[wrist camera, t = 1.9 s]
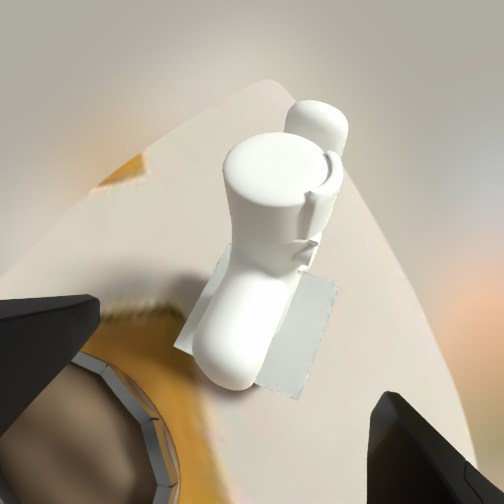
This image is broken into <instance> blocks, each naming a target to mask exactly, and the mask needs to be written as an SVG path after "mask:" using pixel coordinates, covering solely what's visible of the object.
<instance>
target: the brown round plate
mask: <svg viewBox="0 0 504 504" xmlns="http://www.w3.org/2000/svg"><path fill="white" fill-rule="evenodd" d="M79 352H81V351H79ZM81 353H84V352H81ZM84 354H86V355H88V356H90V357H93V358H95V359H97V360H99V361H102V362H104V363H106V364H108V365H110V366H112V365H111V364H109V363H107V362H105V361H103V360H101V359H99V358H97V357H95V356H92V355H90V354H87V353H84ZM112 367H114V366H112ZM122 373H123V372H122ZM123 375H124V376H125V377H126V378H127V380H128V381H129V382H130V383H131V385H132V386H133V387H134V388H135V389H136V391H137V392H138V393H139V394H140V395H141V397H142V398H143V399H144V400H145V401H146V402H147V403H148V405H149V406H150V407H151V408H152V409H153V410H154V411H155V412H156V414H157V415H158V416H159V417H160V419H159V420H162V423H163V427H164V431H165V434H166V438H167V441H168V445H169V448H170V452H171V455H172V458H173V462H174V465H175V468H176V471H177V474H178V478H179V480H178V482H179V484H178V488H177V491H176V495H175V498H174V502H173V504H178V501H179V496H180V484H181V476H180V466H179V460H178V456H177V452H176V448H175V445H174V442H173V439H172V437H171V434H170V432H169V430H168V428H167V426H166V424H165V422H164V419H163V418H162V416H161V415H160V413H159V411H158V410H157V408H156V407H155V405H154V404H153V403H152V401H151V400H150V399H149V398H148V396H147V395H146V394H145V393H144V392H143V390H142V389H141V388H140V387H139V386H138V385H137V384H136V383H135V382H134V381H132V380H131V379H130V378H129V377H128V376H127V375H125V374H124V373H123ZM0 464H1V468H2V472H3V476H4V478H5V479H6V481H7V483H8V484H9V486H10V487H11V489H12V490H13V492H14V493H15V495H16V496H17V498H18V499H19V501H20V502H21V503H22V504H153V501H154V498H155V494H156V490H157V486H158V484H157V481H156V478H155V475H154V472H153V468H152V465H151V462H150V458H149V455H148V451H147V448H146V444H145V440H144V437H143V433H142V429H141V425H140V423H139V422H138V421H137V420H136V419H135V418H134V416H133V415H132V414H131V413H130V412H129V410H128V409H127V408H126V407H125V406H124V404H123V403H122V402H121V401H120V399H119V398H118V397H117V396H116V394H115V393H114V392H113V390H112V389H111V388H110V387H109V385H108V384H107V383H106V381H105V380H104V379H103V377H102V376H101V375H100V374H98V373H95V372H93V371H91V370H89V369H87V368H85V367H82V366H80V365H78V364H76V363H74V362H72V361H70V363H69V364H68V365H67V366H66V367H65V368H64V369H63V370H62V371H61V372H60V373H59V374H58V375H57V376H56V377H55V378H54V379H53V380H52V381H51V382H50V383H49V385H48V386H47V387H46V388H45V389H44V390H43V391H42V392H41V393H40V394H39V395H38V396H37V397H36V399H35V400H34V401H33V402H32V403H31V404H30V405H29V406H28V407H27V408H26V409H25V411H24V412H23V413H22V414H21V415H20V416H19V417H18V418H17V419H16V421H15V422H14V423H13V424H12V425H11V426H10V427H9V429H8V430H7V431H6V432H5V433H4V434H3V435H2V437H1V438H0Z"/></svg>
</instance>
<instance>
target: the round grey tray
mask: <svg viewBox="0 0 504 504" xmlns="http://www.w3.org/2000/svg"><path fill="white" fill-rule="evenodd" d="M71 361H72V362H74V363H76V364H78V365H80V366H82V367H85V368H87V369H89V370H91V371H93V372H95V373H98V374H100V375H101V376H102V377H103V379H104V380H105V381H106V383H107V384H108V385H109V387H110V388H111V389H112V390H113V392H114V393H115V394H116V396H117V397H118V398H119V399H120V401H121V402H122V403H123V404H124V406H125V407H126V408H127V409H128V410H129V412H130V413H131V414H132V415H133V416H134V418H135V419H136V420H137V421H138V422H139V423H140V425H141V429H142V433H143V437H144V440H145V444H146V448H147V451H148V455H149V458H150V462H151V465H152V468H153V472H154V475H155V478H156V481H157V484H158V486H157V490H156V494H155V498H154V501H153V504H173V502H174V498H175V495H176V491H177V488H178V484H179V482H178V480H179V478H178V474H177V471H176V468H175V465H174V462H173V458H172V455H171V452H170V448H169V445H168V441H167V438H166V434H165V431H164V427H163V423H162V420H159V419H160V417H159V416H158V415H157V414H156V412H155V411H154V410H153V409H152V408H151V407H150V406H149V405H148V403H147V402H146V401H145V400H144V399H143V398H142V397H141V395H140V394H139V393H138V392H137V391H136V389H135V388H134V387H133V386H132V385H131V383H130V382H129V381H128V380H127V378H126V377H125V376H124V375H123V373H122V372H121V371H120V370H119V369H117V368H115V367H112V366H110V365H108V364H106V363H104V362H102V361H99V360H97V359H95V358H93V357H90V356H88V355H86V354H84V353H81V352H78V353H77V354H76V356H75V357H74V358H73V359H72V360H71ZM0 504H22V503H21V502H20V501H19V499H18V498H17V496H16V495H15V493H14V492H13V490H12V489H11V487H10V486H9V484H8V483H7V481H6V479H5V478H4V476H3V472H2V468H1V464H0Z"/></svg>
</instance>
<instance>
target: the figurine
mask: <svg viewBox="0 0 504 504" xmlns="http://www.w3.org/2000/svg"><path fill="white" fill-rule="evenodd" d="M347 134H348V123H347V120H346V118H345V116H344V115H343V114H342V113H341V112H340V111H339V110H338V109H336V108H334V107H333V106H331V105H328V104H326V103H323V102H318V101H312V100H305V101H300V102H297V103H295V104H294V105H293V106H292V107H291V108H290V109H289V111H288V114H287V117H286V122H285V129H284V133H281V132H270V133H262V134H258V135H254V136H252V137H249V138H247V139H245V140H243V141H241V142H240V143H238V144H237V145H236V146H234V147H233V148H232V149H231V150H230V151H229V153H228V154H227V156H226V158H225V161H224V163H223V176H224V182H225V188H226V193H227V199H228V205H229V210H230V215H231V221H232V243H229V244H228V246H227V248H226V250H225V252H224V253H223V255H222V257H221V259H220V261H219V262H218V264H217V266H216V268H215V270H214V271H213V273H212V275H211V277H210V279H209V281H208V282H207V284H206V286H205V288H204V290H203V291H202V293H201V295H200V297H199V299H198V301H197V303H196V304H195V306H194V308H193V310H192V312H191V314H190V315H189V317H188V319H187V321H186V323H185V325H184V327H183V329H182V330H181V332H180V334H179V336H178V338H177V340H176V342H175V344H174V345H173V346H174V347H176V348H178V349H180V350H182V351H184V352H186V353H188V354H190V355H193V356H194V359H195V361H196V363H197V365H198V366H199V367H200V369H201V370H202V371H203V372H204V374H205V375H206V376H207V377H208V378H209V379H210V380H211V381H212V382H214V383H215V384H217V385H219V386H221V387H223V388H226V389H230V390H236V391H238V390H244V389H247V388H249V387H250V386H251V385H252V384H253V383H255V384H258V385H260V386H263V387H265V388H268V389H270V390H273V391H275V392H278V393H281V394H283V395H286V396H289V397H291V398H294V399H297V400H298V399H299V396H300V394H301V391H302V389H303V386H304V384H305V381H306V379H307V376H308V373H309V371H310V368H311V366H312V363H313V360H314V358H315V355H316V352H317V350H318V347H319V344H320V341H321V339H322V336H323V333H324V330H325V327H326V324H327V321H328V318H329V315H330V313H331V310H332V307H333V303H334V300H335V297H336V294H337V291H338V288H339V285H338V284H335V283H333V282H330V281H327V280H325V279H322V278H320V277H317V276H315V275H312V274H309V273H307V272H306V271H308V270H309V269H310V267H311V264H312V262H313V259H314V256H315V254H316V251H317V248H318V245H319V243H320V240H321V235H322V232H321V231H322V230H323V228H324V227H325V226H326V224H327V222H328V220H329V218H330V215H331V212H332V209H333V206H334V203H335V200H336V197H337V195H338V193H339V190H340V187H341V183H342V179H343V168H342V163H341V160H340V158H341V155H342V152H343V149H344V145H345V142H346V139H347Z"/></svg>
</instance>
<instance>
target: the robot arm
mask: <svg viewBox="0 0 504 504" xmlns="http://www.w3.org/2000/svg"><path fill="white" fill-rule="evenodd" d="M99 321H100V301H99V299H98V298H96V297H94V296H92V295H89V294H83V295H70V296H56V297H41V298H26V299H9V300H0V438H1V437H2V435H3V434H4V433H5V432H6V431H7V430H8V429H9V427H10V426H11V425H12V424H13V423H14V422H15V421H16V419H17V418H18V417H19V416H20V415H21V414H22V413H23V412H24V411H25V409H26V408H27V407H28V406H29V405H30V404H31V403H32V402H33V401H34V400H35V399H36V397H37V396H38V395H39V394H40V393H41V392H42V391H43V390H44V389H45V388H46V387H47V386H48V385H49V383H50V382H51V381H52V380H53V379H54V378H55V377H56V376H57V375H58V374H59V373H60V372H61V371H62V370H63V369H64V368H65V367H66V366H67V365H68V364H69V363H70V361H71V360H72V359H73V358H74V357H75V356H76V354H77V353H78V352H79V351H80V349H81V348H82V347H83V345H84V344H85V343H86V342H87V340H88V339H89V338H90V337H91V335H92V334H93V333H94V331H95V330H96V329H97V327H98V325H99ZM465 460H466V459H465V458H464V457H463V456H462V455H461V454H460V453H459V452H458V451H457V450H456V449H455V448H454V447H453V446H452V445H451V444H450V443H449V442H448V441H447V440H446V439H445V438H444V437H443V436H442V435H441V434H440V433H439V432H438V431H436V430H435V429H434V428H433V427H432V426H431V425H430V424H429V423H428V422H427V421H426V420H425V419H424V418H423V417H422V416H421V415H420V414H419V413H418V412H417V411H416V410H415V409H414V408H413V407H412V406H411V405H410V404H409V403H408V402H407V401H406V400H405V399H404V398H403V397H402V396H401V395H400V394H398V393H396V392H390V391H386V392H384V393H383V394H382V396H381V398H380V399H379V401H378V403H377V404H376V406H375V408H374V409H373V411H372V413H371V417H370V430H369V442H368V452H367V504H504V493H503V492H502V491H501V490H499V489H498V488H497V487H496V486H494V485H493V484H492V483H491V482H490V481H489V480H487V479H486V478H485V477H484V476H483V475H482V474H481V473H480V472H479V471H478V470H477V469H476V468H474V467H473V466H472V465H471V464H470V463H469V462H468V461H467V460H466V461H465Z"/></svg>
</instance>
